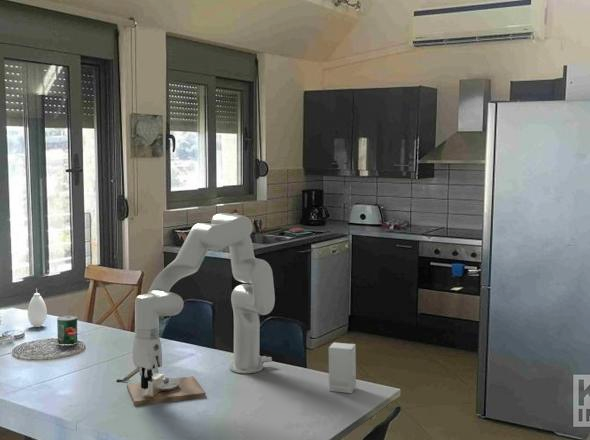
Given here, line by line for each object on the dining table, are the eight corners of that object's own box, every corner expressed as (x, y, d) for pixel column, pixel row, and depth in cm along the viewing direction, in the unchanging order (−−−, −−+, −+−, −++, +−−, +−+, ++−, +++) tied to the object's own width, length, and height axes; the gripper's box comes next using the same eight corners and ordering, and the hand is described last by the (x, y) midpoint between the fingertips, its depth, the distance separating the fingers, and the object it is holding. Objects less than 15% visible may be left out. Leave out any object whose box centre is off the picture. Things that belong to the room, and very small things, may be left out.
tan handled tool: (133, 386, 237) (133, 383, 237) (115, 383, 239) (115, 380, 238) (159, 366, 257) (159, 363, 257) (143, 363, 259) (143, 360, 259)
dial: (159, 380, 235) (159, 366, 234) (183, 383, 232) (183, 369, 231) (138, 394, 221) (137, 379, 220) (163, 398, 218) (163, 383, 218)
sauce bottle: (24, 328, 304) (23, 289, 302) (34, 324, 312) (33, 285, 310) (41, 329, 303) (40, 290, 301) (50, 325, 311) (49, 286, 309)
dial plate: (193, 380, 241) (193, 375, 241) (205, 396, 225) (205, 392, 225) (126, 388, 232) (126, 383, 232) (134, 405, 217) (134, 400, 216)
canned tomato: (74, 346, 279) (73, 320, 278) (54, 346, 279) (54, 319, 278) (80, 341, 287) (79, 315, 286) (61, 340, 287) (61, 315, 286)
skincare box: (356, 387, 235) (357, 343, 234) (351, 394, 229) (352, 349, 227) (332, 384, 238) (333, 341, 236) (327, 391, 232) (328, 346, 230)
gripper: (170, 334, 220) (170, 390, 222) (141, 326, 229) (141, 379, 231) (152, 339, 214) (151, 396, 216) (123, 330, 224) (123, 385, 225)
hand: (146, 387), depth 223 cm, fingers closed
